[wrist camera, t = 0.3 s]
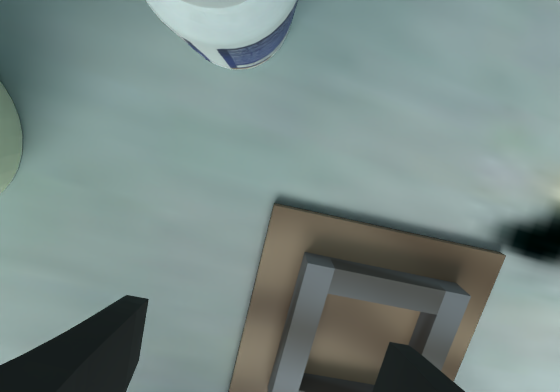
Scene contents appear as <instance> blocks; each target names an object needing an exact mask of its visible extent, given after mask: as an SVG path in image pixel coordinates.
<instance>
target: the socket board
mask: <svg viewBox="0 0 560 392" xmlns="http://www.w3.org/2000/svg"><path fill="white" fill-rule="evenodd" d="M505 257H506V255H504V254H502V253H500V252H496V251H492V250H487V249H483V248H478V247H473V246H469V245H464V244H460V243H455V242H451V241H446V240H441V239H437V238H432V237H428V236H423V235H419V234H414V233H409V232H405V231H400V230H396V229H391V228H387V227H382V226H377V225H373V224H368V223H364V222H359V221H354V220H350V219H345V218H341V217H336V216H332V215H327V214H322V213H318V212H313V211H309V210H304V209H300V208H295V207H290V206H286V205H281V204H277V203H274V206H273V210H272V214H271V218H270V222H269V226H268V230H267V235H266V239H265V243H264V247H263V251H262V255H261V259H260V263H259V268H258V272H257V276H256V280H255V284H254V288H253V292H252V297H251V301H250V305H249V309H248V313H247V317H246V321H245V325H244V330H243V334H242V338H241V342H240V346H239V350H238V354H237V359H236V363H235V367H234V371H233V375H232V379H231V383H230V388H229V392H372V391H373V388H374V385H375V382H376V379H377V377H378V374H379V371H380V368H381V365H382V362H383V359H384V356H385V353H386V350H387V348H388V345H389V342H394V343H399V344H405V345H409V346H410V347H412V348H413V349H415V350H416V351H417V352H419V353H420V354H421V355H422V356H424V357H425V358H426V359H427V360H428V361H430V362H431V363H432V364H433V365H434V366H435V367H437V368H438V369H439V370H440V371H441V372H442V373H444V374H445V375H446V376H447V377H448V378H449V379H451V380H452V381H454V379H455V377H456V374H457V372H458V369H459V367H460V365H461V362H462V360H463V357H464V355H465V353H466V350H467V348H468V345H469V343H470V341H471V338H472V336H473V333H474V331H475V329H476V326H477V324H478V321H479V319H480V317H481V314H482V312H483V309H484V307H485V305H486V302H487V300H488V297H489V295H490V293H491V290H492V288H493V285H494V283H495V281H496V278H497V276H498V273H499V271H500V269H501V266H502V264H503V261H504V259H505Z"/></svg>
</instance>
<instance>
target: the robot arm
mask: <svg viewBox="0 0 560 392" xmlns="http://www.w3.org/2000/svg"><path fill="white" fill-rule="evenodd" d="M147 306H148V299H146V298H140V297H134V296H129V295H126V296H124V297H123V298H121V299H119V300H118V301H116V302H114V303H113V304H111V305H109V306H108V307H106V308H105V309H103V310H101V311H100V312H98V313H96V314H95V315H93V316H92V317H90V318H88V319H87V320H85V321H83V322H81V323H80V324H78V325H76V326H75V327H73V328H71V329H70V330H68V331H66V332H64V333H63V334H61V335H59V336H57V337H55V338H53V339H51V340H49V341H48V342H46V343H44V344H42V345H40V346H38V347H36V348H34V349H33V350H31V351H29V352H27V353H25V354H23V355H21V356H19V357H17V358H15V359H13V360H10V361H8V362H6V363H4V364H2V365H0V392H126V390H127V388H128V385H129V383H130V381H131V378H132V376H133V373H134V371H135V368H136V366H137V364H138V361H139V355H140V349H141V343H142V337H143V331H144V324H145V318H146V312H147ZM372 392H465V391H464V390H462V389H461V388H460V387H459V386H458V385H456V384H455V383H454V382H453V381H452V380H451V379H449V378H448V377H447V376H446V375H445V374H444V373H442V372H441V371H440V370H439V369H438V368H437V367H435V366H434V365H433V364H432V363H431V362H430V361H428V360H427V359H426V358H425V357H424V356H422V355H421V354H420V353H419V352H417V351H416V350H415V349H413V348H412V347H410V346H409V345H405V344H399V343H394V342H389V345H388V348H387V350H386V353H385V356H384V359H383V362H382V365H381V368H380V371H379V374H378V377H377V379H376V382H375V385H374V388H373V391H372Z"/></svg>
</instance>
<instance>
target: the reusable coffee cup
mask: <svg viewBox="0 0 560 392" xmlns="http://www.w3.org/2000/svg"><path fill="white" fill-rule="evenodd" d="M22 142H23V135H22V130H21V124H20V119H19V116H18V113H17V111H16V108H15V106H14V103H13V101H12V99H11V97H10V96H9V94H8V92H7V91H6V89H5V87H4V86H3V84H2V83H1V82H0V194H1V193H2V192H3V191H4V190H5V189H6V188H7V186H8V185H9V184H10V183H11V182H12V180H13V178H14V176H15V174H16V172H17V170H18V168H19V164H20V160H21V156H22Z"/></svg>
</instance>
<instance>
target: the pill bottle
mask: <svg viewBox="0 0 560 392" xmlns="http://www.w3.org/2000/svg"><path fill="white" fill-rule="evenodd" d="M146 2H147V3H148V5H149V6H150V7H151V9H152V10H153V11H154V12H155V14H156V15H157V16H158V17H159V19H160V20H161V21H162V22H163V23H164V24H165V25H167V26H168V27H169V28H170V29H171V30H172V31H173V32H175V33H176V34H177V35H178V36H179V37H180V38H181V39H183V40H184V41H185V42H186V43H187V44H188V45H190V46H191V47H192V48H193V49H194V50H195V51H196V52H198V53H199V54H200V55H201V56H202V57H203V58H205V59H206V60H208V61H210V62H211V63H213V64H215V65H218V66H220V67H223V68H227V69H234V70H245V69H250V68H254V67H257V66H259V65H261V64H263V63H265V62H266V61H268V60H269V59H270V58H271V57H273V56H274V54H275V53H276V52H277V51H278V50H279V48H280V47H281V46H282V44H283V42H284V41H285V39H286V37H287V34H288V32H289V29H290V26H291V22H292V19H293V15H294V12H295V8H296V5H297V2H298V0H146Z"/></svg>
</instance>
